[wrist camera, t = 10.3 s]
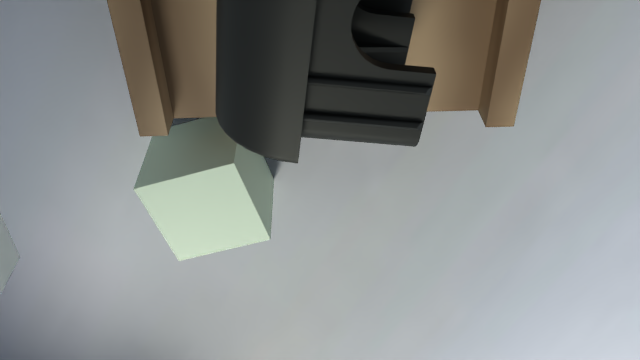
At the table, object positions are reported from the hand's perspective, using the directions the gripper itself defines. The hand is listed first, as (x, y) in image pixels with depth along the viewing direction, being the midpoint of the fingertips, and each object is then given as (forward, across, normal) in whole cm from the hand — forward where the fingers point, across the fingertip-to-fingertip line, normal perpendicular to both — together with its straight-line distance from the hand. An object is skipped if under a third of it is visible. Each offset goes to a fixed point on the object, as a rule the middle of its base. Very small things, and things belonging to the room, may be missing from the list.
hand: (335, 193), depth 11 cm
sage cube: (+18, -6, -12) cm, 22 cm away
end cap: (+14, 0, 0) cm, 14 cm away
